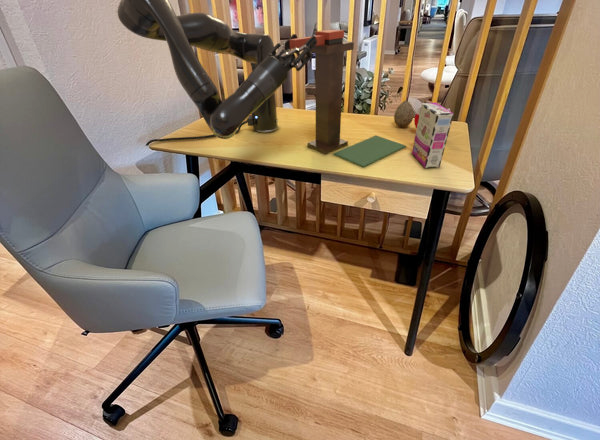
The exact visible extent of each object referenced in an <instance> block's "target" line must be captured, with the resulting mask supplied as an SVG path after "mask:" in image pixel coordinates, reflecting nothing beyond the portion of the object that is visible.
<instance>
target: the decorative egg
mask: <svg viewBox="0 0 600 440" xmlns="http://www.w3.org/2000/svg"><path fill="white" fill-rule="evenodd" d="M414 118H415V111H414V107H413V106H412V104H411V103H410V102H409V100H403V101H402V102H401V103H400V104H399V105H398V106H397V107H396V109H395V111H394V115H393V119H394V124H395V125H396V126H398V128H399V127H400V128H406V127H408V126H409V125H411V123H413V121H414Z"/></svg>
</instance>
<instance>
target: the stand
mask: <svg viewBox="0 0 600 440" xmlns="http://www.w3.org/2000/svg"><path fill="white" fill-rule="evenodd" d="M354 45H355V44H354V41H349V40H343V42H342V43H336V44H330V45H327V44H324V45H318V46H315V47H314V48H313V49H312V50H311V53H312V54H314V60H315V61H314V65H315V66H314V69H315V70H314V71H315V73H314V76H315V80H314V81H315V82H314V83H315V85H314V87H315V91H314V93H315V94H314V95H315V96H314V97H315V98H314V99H315V139H314V140H312V141H309V142H307V148H309V149H312V150H314V151H316V152H318V153H321V154H323V155H324V156H325V155H328V154H330V153H333V152H336V151H339V150H341V149H343V148H346V147H348V145H349V140H345V139H343V138H341V124H342V103H343V102H342V100H343V75H344V55H345V52H348V51H353V50H354V48H355V47H354Z"/></svg>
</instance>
